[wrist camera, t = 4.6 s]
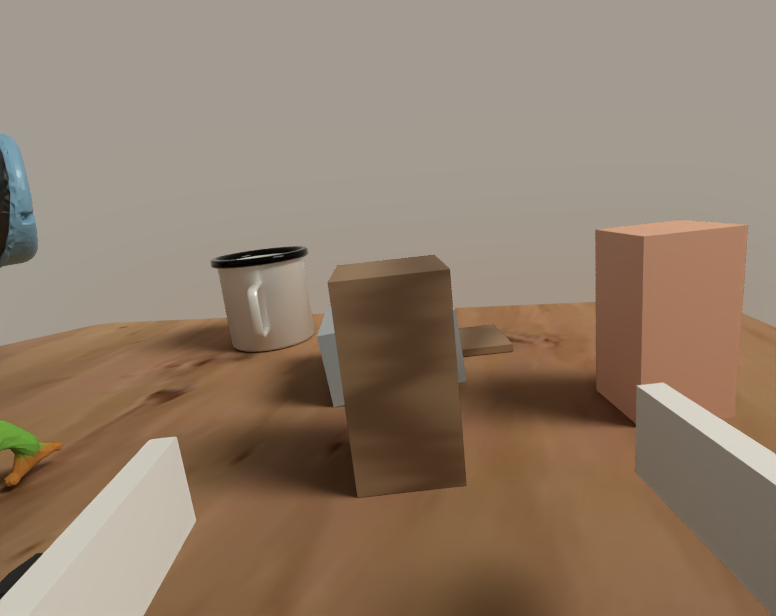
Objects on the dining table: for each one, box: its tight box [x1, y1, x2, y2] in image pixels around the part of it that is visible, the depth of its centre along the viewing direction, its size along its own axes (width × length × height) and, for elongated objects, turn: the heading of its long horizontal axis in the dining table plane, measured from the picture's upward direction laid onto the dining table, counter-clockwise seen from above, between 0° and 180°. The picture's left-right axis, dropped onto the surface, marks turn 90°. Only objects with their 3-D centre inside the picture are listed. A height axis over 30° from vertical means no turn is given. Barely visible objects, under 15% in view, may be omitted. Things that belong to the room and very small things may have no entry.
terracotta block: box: [595, 220, 748, 424], centre depth 26 cm, size 5×5×10 cm
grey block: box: [317, 305, 467, 407], centre depth 35 cm, size 9×9×5 cm
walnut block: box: [328, 255, 467, 498], centre depth 23 cm, size 5×5×10 cm
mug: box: [210, 246, 314, 352], centre depth 46 cm, size 12×10×9 cm
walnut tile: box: [458, 324, 513, 357], centre depth 41 cm, size 6×6×1 cm
